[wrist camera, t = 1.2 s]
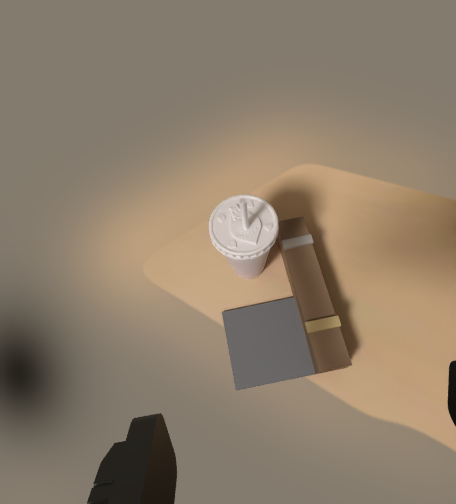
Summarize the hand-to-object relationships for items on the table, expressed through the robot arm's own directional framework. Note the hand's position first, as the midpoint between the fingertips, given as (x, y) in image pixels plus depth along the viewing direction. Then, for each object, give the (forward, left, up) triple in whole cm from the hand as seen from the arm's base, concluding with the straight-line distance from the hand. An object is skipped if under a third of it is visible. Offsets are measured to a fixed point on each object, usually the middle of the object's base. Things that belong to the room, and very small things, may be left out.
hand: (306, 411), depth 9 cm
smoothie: (0, -15, -25) cm, 30 cm away
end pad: (0, -6, -25) cm, 26 cm away
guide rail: (-6, -10, -25) cm, 28 cm away
